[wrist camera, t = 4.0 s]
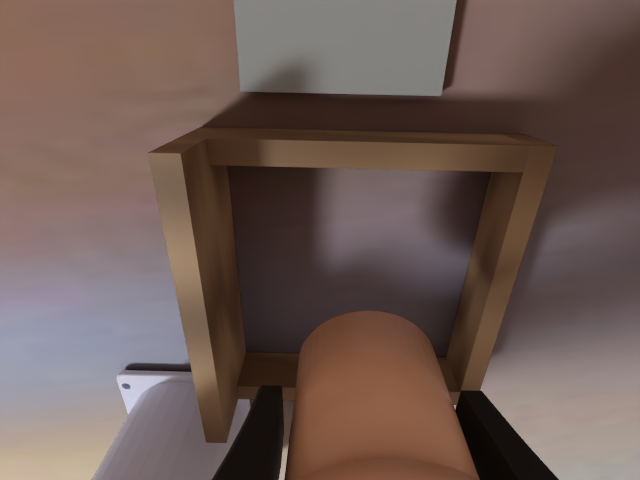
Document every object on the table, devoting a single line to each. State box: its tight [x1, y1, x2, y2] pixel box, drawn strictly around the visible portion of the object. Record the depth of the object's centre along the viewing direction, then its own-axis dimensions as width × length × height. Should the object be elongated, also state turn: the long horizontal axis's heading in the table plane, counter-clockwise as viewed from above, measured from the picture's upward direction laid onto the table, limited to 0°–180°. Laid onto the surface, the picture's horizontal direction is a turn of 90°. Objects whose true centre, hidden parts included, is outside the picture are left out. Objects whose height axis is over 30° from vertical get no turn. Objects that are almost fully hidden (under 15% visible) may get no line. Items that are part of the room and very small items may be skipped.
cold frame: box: [148, 127, 558, 443], centre depth 16 cm, size 14×14×5 cm
